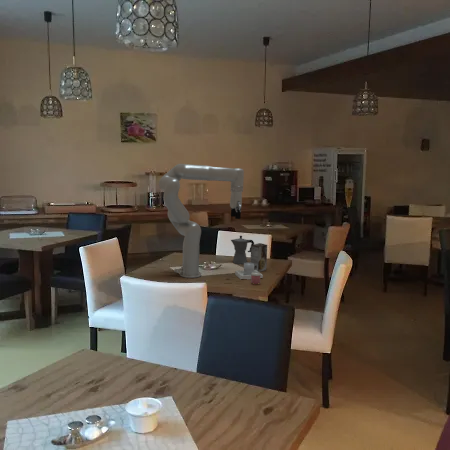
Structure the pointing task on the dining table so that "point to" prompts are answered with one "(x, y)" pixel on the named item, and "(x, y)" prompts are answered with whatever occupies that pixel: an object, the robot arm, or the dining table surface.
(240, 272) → the tray
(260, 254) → the coffee box
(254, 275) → the jam jar
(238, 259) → the coffeepot
